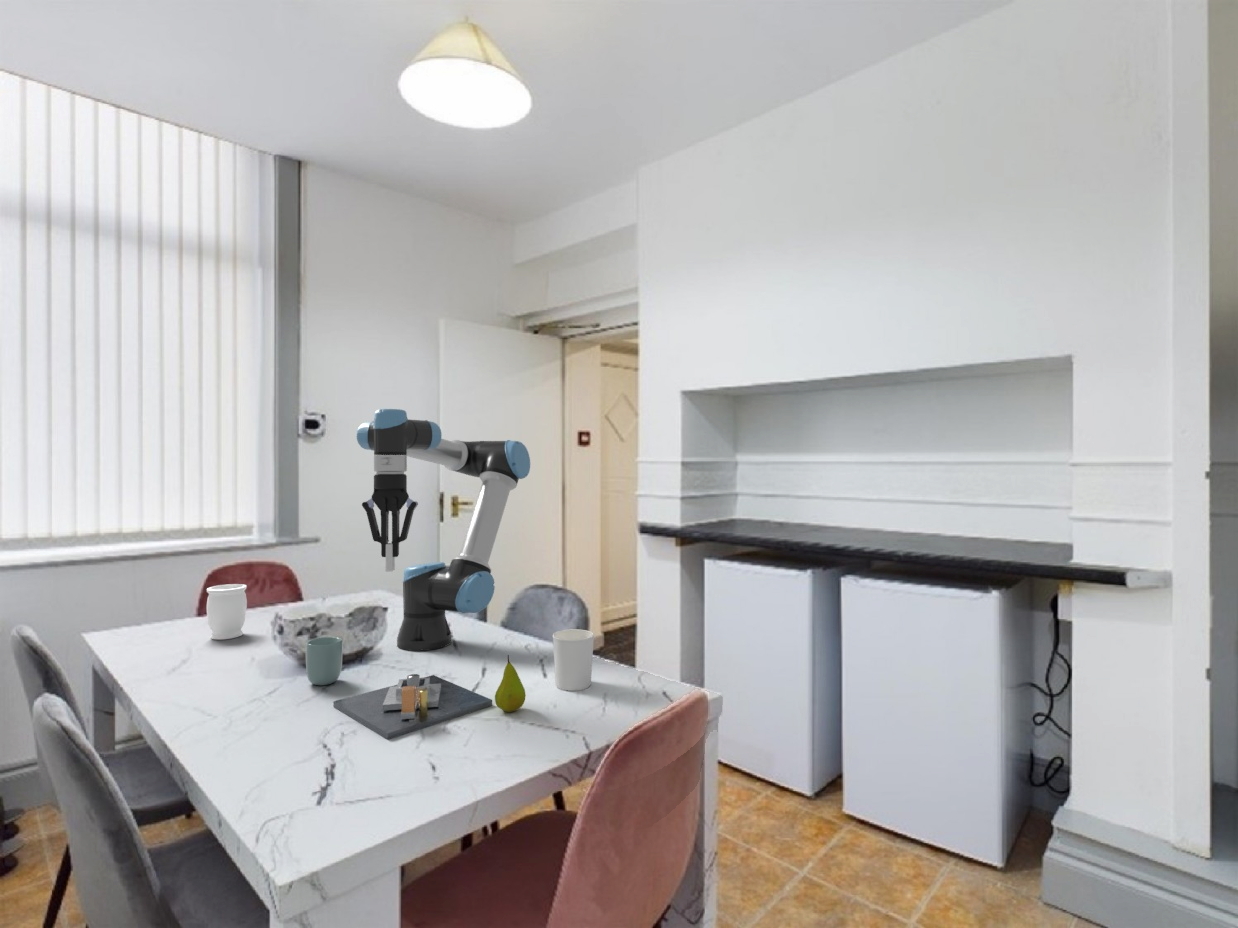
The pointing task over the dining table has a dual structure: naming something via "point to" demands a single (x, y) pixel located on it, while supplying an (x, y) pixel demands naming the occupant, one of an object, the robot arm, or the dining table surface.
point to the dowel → (422, 703)
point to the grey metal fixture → (411, 697)
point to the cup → (323, 660)
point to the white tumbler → (573, 659)
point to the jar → (226, 610)
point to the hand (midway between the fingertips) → (390, 570)
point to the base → (390, 723)
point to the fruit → (510, 690)
